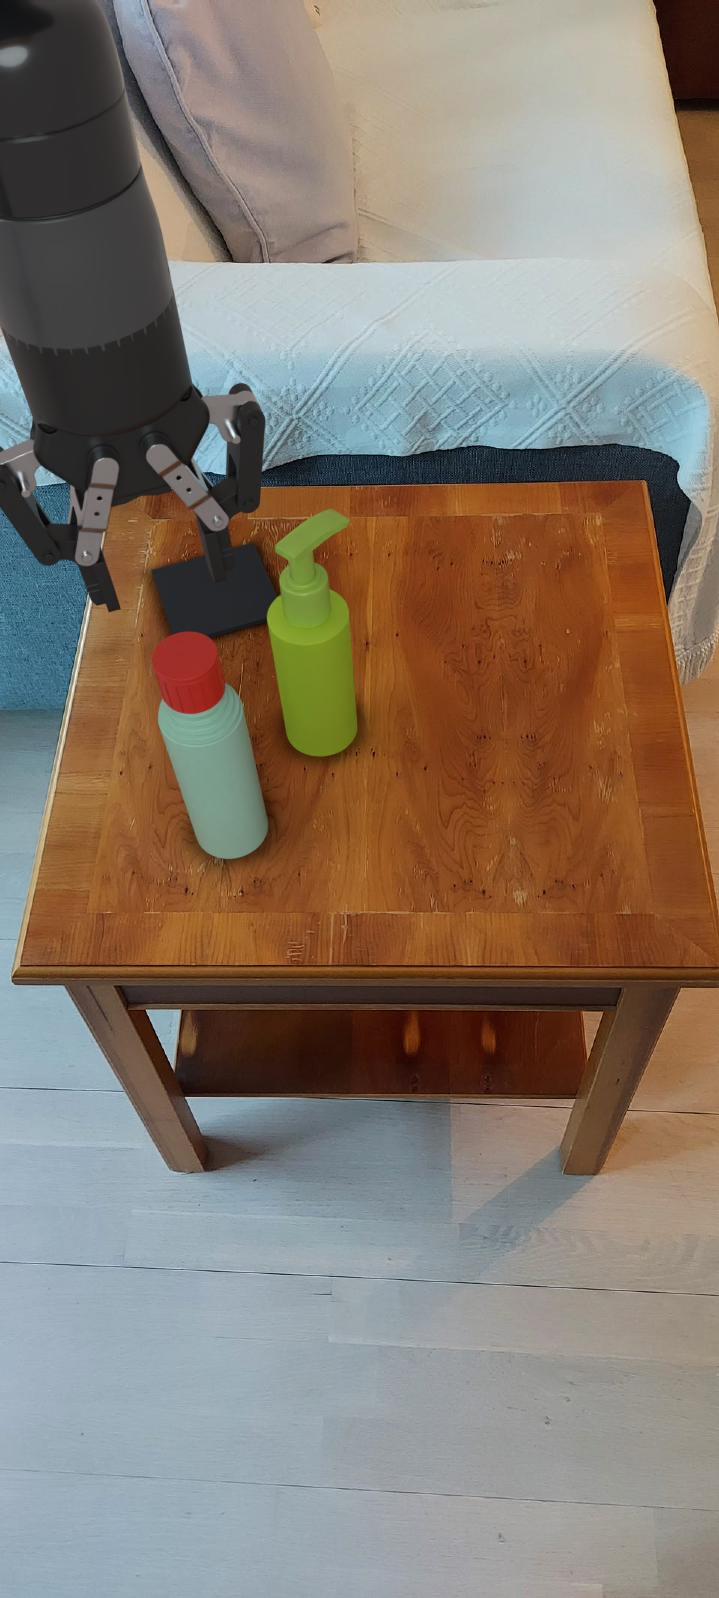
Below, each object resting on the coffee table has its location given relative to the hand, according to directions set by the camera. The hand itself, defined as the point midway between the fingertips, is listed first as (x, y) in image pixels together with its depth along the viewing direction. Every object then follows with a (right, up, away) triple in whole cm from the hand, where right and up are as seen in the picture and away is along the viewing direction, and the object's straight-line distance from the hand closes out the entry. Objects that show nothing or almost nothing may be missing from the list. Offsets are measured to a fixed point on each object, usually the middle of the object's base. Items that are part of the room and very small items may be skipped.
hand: (165, 585), depth 56 cm
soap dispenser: (+8, -6, +26) cm, 28 cm away
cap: (0, -5, +7) cm, 9 cm away
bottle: (+1, -14, +21) cm, 25 cm away
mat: (-2, +7, +35) cm, 36 cm away
